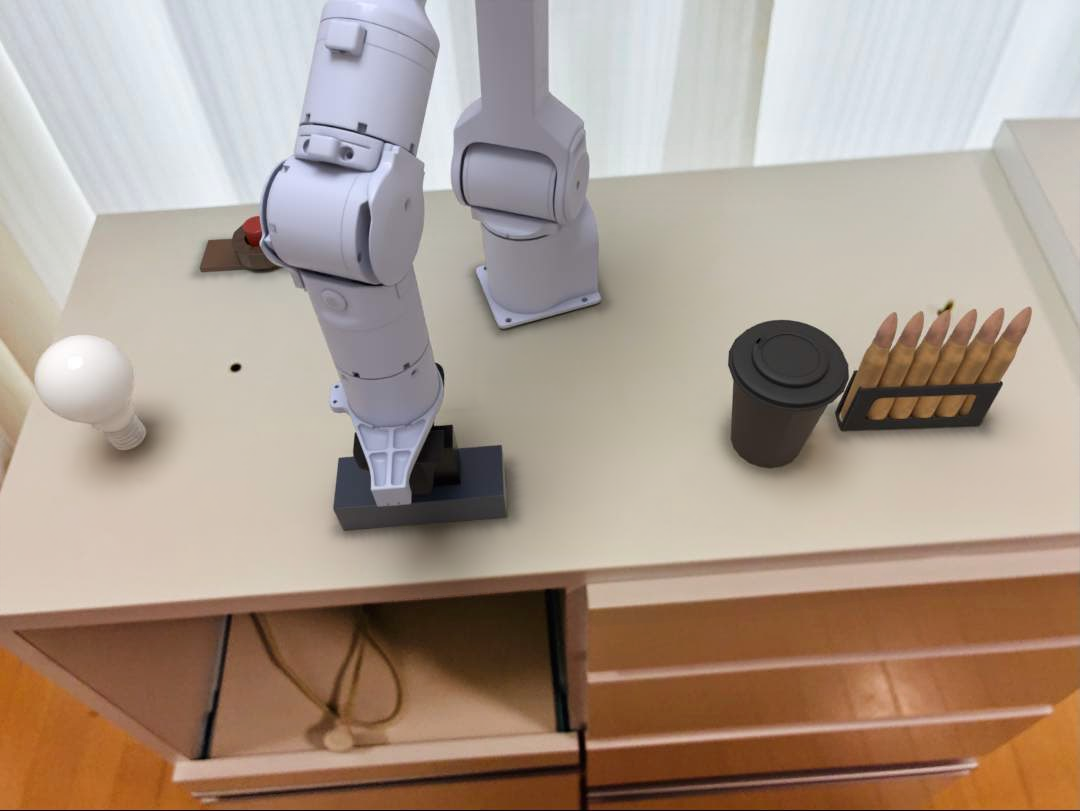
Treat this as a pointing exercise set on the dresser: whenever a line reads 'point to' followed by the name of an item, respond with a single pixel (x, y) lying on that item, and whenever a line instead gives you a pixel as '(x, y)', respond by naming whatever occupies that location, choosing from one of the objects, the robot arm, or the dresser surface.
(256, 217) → the release button
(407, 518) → the switch base
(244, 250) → the block
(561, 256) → the robot arm
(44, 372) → the lightbulb
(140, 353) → the dresser surface
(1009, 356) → the ammunition clip
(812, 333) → the coffee cup
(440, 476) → the black block red marker
